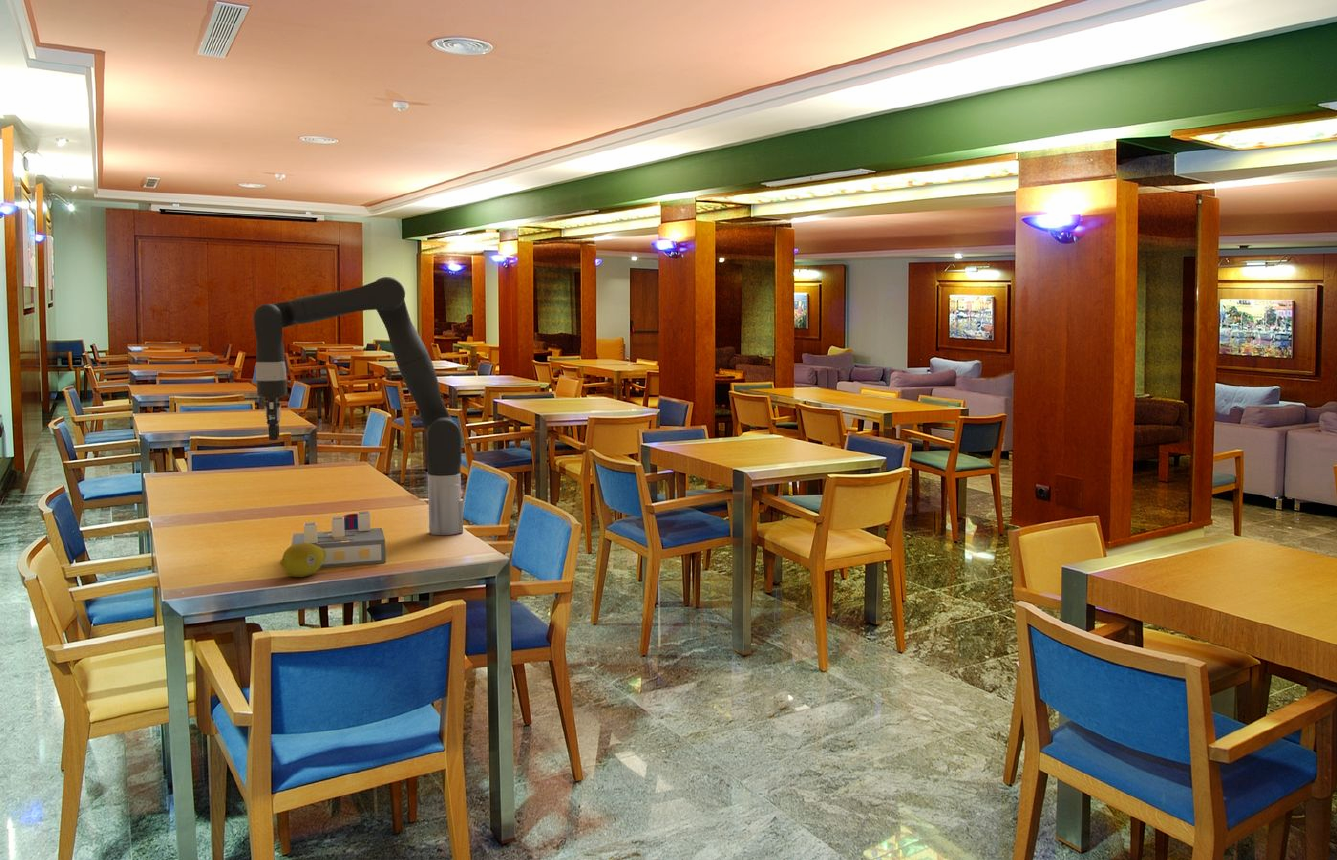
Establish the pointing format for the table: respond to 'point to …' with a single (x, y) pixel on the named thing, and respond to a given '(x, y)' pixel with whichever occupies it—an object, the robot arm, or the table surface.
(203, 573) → the table surface
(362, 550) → the console
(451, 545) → the table surface
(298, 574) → the lemon
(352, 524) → the mug
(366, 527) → the slider far
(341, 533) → the slider mid
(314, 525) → the slider near
